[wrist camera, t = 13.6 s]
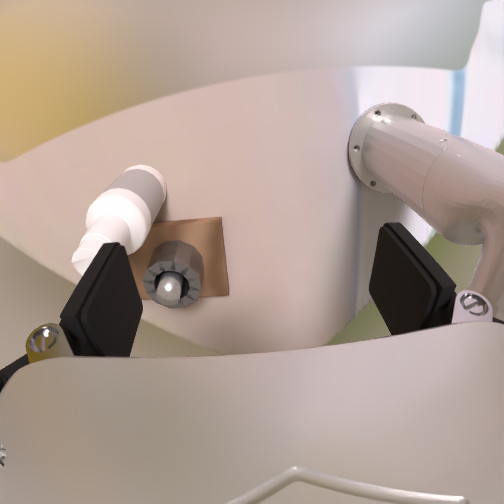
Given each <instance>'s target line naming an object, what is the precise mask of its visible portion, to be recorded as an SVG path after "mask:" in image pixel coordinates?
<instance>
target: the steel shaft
mask: <svg viewBox="0 0 504 504" xmlns="http://www.w3.org/2000/svg"><path fill="white" fill-rule="evenodd" d="M183 279H184V275H183V274H181V273H178V272H176V271H163V272H162V274H161V278H160V281H159V284H158V288H157V291H156V298H157V300H158V301H159V302H160V303H161V304H163V305H166V306H173V305H175V304H177V303H178V302H179V300H180V294H181V289H182V284H183Z"/></svg>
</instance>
